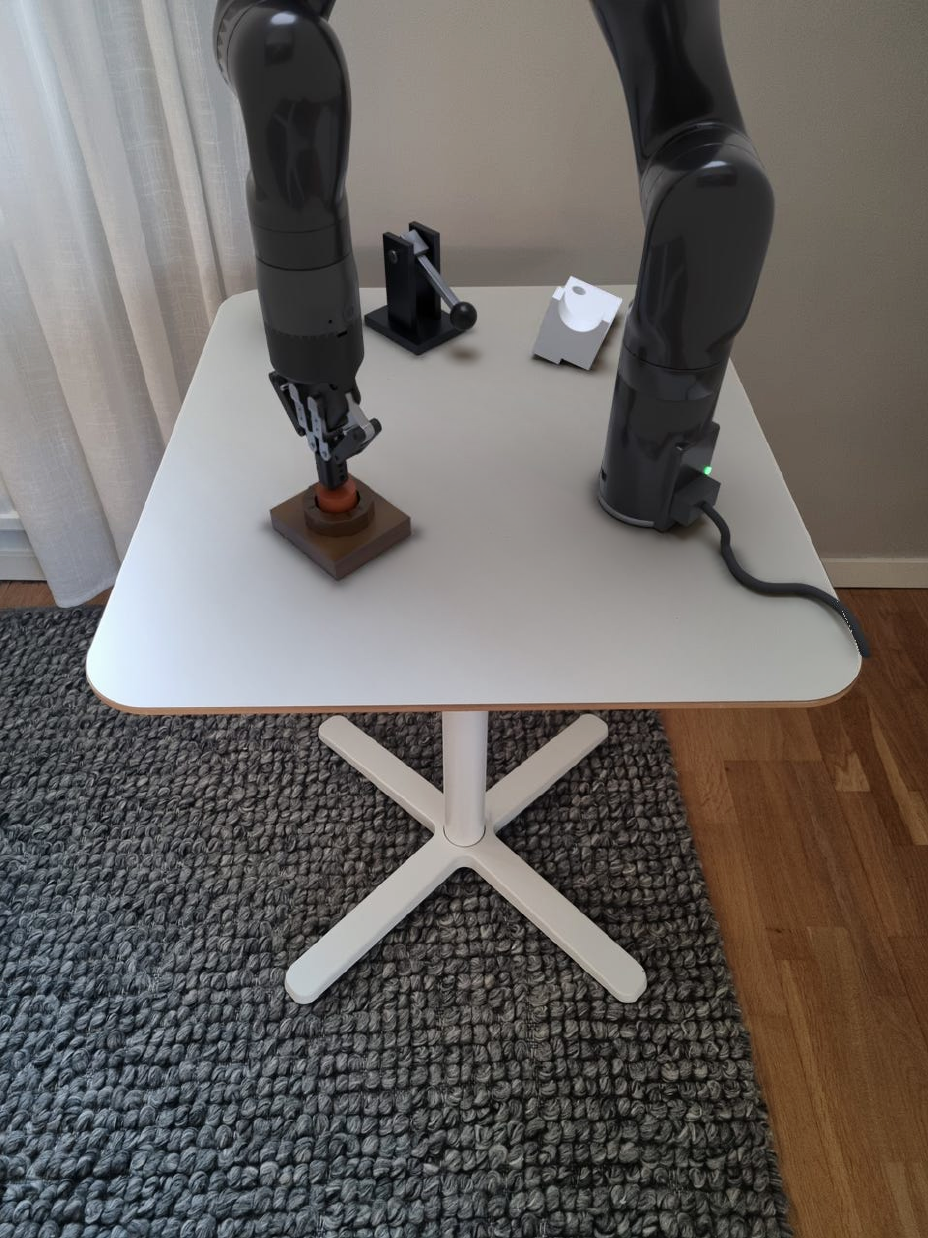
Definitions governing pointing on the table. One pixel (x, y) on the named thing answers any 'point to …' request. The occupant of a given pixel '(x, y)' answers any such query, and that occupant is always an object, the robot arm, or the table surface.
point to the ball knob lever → (442, 285)
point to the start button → (337, 498)
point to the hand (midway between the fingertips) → (334, 483)
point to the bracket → (576, 323)
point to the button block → (341, 528)
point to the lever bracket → (411, 295)
